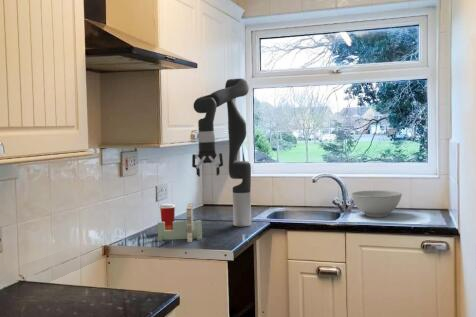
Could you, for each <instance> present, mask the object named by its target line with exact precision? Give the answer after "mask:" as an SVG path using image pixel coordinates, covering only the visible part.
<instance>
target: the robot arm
mask: <svg viewBox="0 0 476 317" xmlns="http://www.w3.org/2000/svg"><path fill="white" fill-rule="evenodd" d="M249 86H250V84H249V81H248V80H247V79H245V78H230V79H227V80H226V82H225V87H224V88H221V89H218V90H216V91H213V92H212V93H210V94H207V95H206V94H205V95H203V96H200V97H198V98H196V99H195V101H194V102H193V110H194V111H195V112H196V113H198V114H205V115H204V117H203V118H200V119H198V122H197V123H198V126H197V127H198V136H197V138H198V140H197V141H198V154H196V153H195V154H194V153H193V154H192V160H191V163H192V164H191V167H192V168H195V169H196V176H198V177H200V176H201V171H200V170H201V168H200V167H201V165H202V164H207V163H208V164H211V163H213V164H214V166H215V168H216V176H219V175H220V172H221V171H220V167H223V166H224V160H223V153H222V152H220V153H219V152H218V153H217V152H216V141H215V140H216V138H215V130H214V121H215V116H216V112H217V108H219V107H221V106H223V105H224V104H225V103H226V107H227V108H226V109H227V128H228V129H227V133H228V145H229V146H228V148H229V149H228V151H229V152H228V153H229V154H228V175H229V177H230V178H231V179H232V180H242V181H241V182H240V183H239V184H237V185H235V186H232V212H233V214H232V215H233V217H232V218H233V219H232V220H233V226H235V227H250V226H251V225H252V198H251V197H252V196H251V195H252V194H251V189H252V188H251V186H252V182H251V181H252V180H251V179H252V178H251V177H252V175H251V174H252V166H251V163H250V161H248V160H241V161H240V160H238V153H239V150H240V148H241V147H242V145H243V143H244V142H245V139H246V137H247V123H246V120H245V117H244V115H243V114H242V113H241V111H240V109H239V107H238V104H237V98H241V97H245V96H247V95H248V93H249V91H250V87H249ZM216 157H217V158H218V159H219V163H218V162H217V161H216ZM198 158H199V160H200V161H199V162H198V164H196V160H197V159H198Z"/></svg>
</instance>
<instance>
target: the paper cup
mask: <svg viewBox="0 0 476 317" xmlns="http://www.w3.org/2000/svg"><path fill="white" fill-rule="evenodd" d="M159 209H160V220H161V221H160V222H165V230H173V221H175V220H176V218H175V216H176V215H175V214H176V212H175V210H176V205H175V203H170V202H169V203H161V204H160V205H159Z"/></svg>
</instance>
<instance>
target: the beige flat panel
mask: <svg viewBox="0 0 476 317" xmlns="http://www.w3.org/2000/svg"><path fill="white" fill-rule="evenodd" d="M193 208H194V207H193V203H188V204H187V207H186V225H187V238H188V239H187V243H193V233H192V230H193V229H194V209H193Z"/></svg>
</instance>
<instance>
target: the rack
mask: <svg viewBox="0 0 476 317" xmlns="http://www.w3.org/2000/svg"><path fill="white" fill-rule="evenodd" d="M202 228H203V227H202V220H193V230H192V233H193V239H194V240H195V239H196V240H197V241H202V237H203V232H202ZM156 239H157V242H163V240H164V241H165V240H166V241H167V240H168V241H169V240H188V238H187V220H177V221H176V220H174V221H173V230H165V222H162V221H157V238H156Z"/></svg>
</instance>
